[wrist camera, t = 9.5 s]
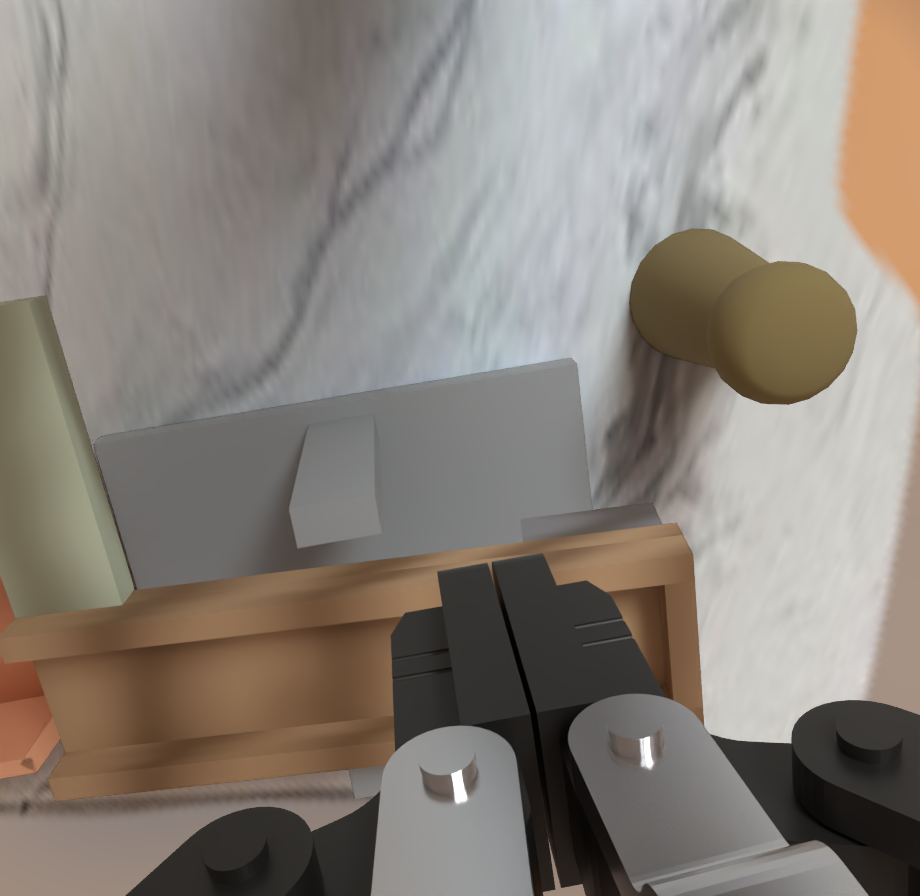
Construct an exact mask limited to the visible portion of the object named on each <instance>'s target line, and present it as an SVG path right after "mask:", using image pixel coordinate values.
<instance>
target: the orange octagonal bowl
mask: <svg viewBox="0 0 920 896" xmlns="http://www.w3.org/2000/svg"><path fill="white" fill-rule="evenodd" d="M14 619H15V615H14V613H13V610H12V607H11V604H10V601H9V599H8V596H7V593H6V590H5V587H4V585H3V582H2V579H1V576H0V634H1V633H2V632H3V631H4V630H5V629H6V628H7V627H8V626H9V625H10V624H11V623H12V622H13V620H14ZM59 740H60V736H59V734H58V731H57V728H56V725H55V722H54V720H53V717H52V714H51V711H50V708H49V706H48V703H47V700H46V697H45V694H44V692H43V689H42V686H41V683H40V680H39V677H38V675H37V672H36V669H35V666H34V663H33V661H24V662H16V663H8V664H5V663H4V661H3V658H2V655H1V652H0V779H2V778H8V777H13V776H19V775H24V774H30V773H35V772H37V771H38V770H39V768H40V767H41V765H42V764H43V763H44V761H45V760H46V758H47V757H48V756H49V754H50V753H51V751H52V750H53V748H54V747H55V746H56V744H57V743H58V741H59Z"/></svg>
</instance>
